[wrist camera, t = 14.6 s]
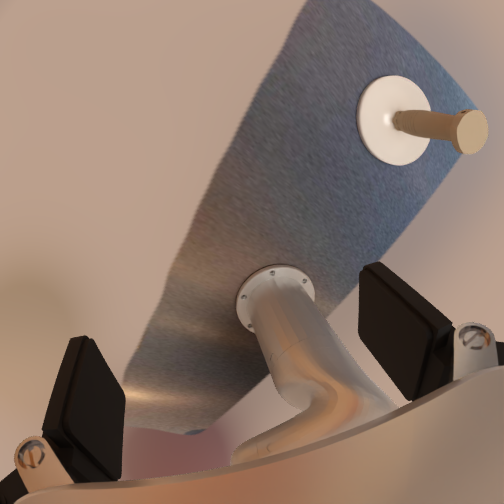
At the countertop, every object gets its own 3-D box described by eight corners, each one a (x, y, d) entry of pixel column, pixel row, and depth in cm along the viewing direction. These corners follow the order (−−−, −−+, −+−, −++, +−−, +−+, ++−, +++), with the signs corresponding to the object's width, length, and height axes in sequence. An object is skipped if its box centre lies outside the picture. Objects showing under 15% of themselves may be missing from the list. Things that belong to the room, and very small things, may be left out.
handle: (418, 126, 42) (491, 140, 29) (390, 144, 43) (463, 161, 29) (407, 98, 40) (482, 103, 27) (378, 115, 41) (452, 122, 27)
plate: (428, 159, 47) (434, 160, 45) (360, 169, 45) (366, 170, 44) (421, 77, 41) (427, 77, 39) (350, 76, 39) (355, 75, 38)
